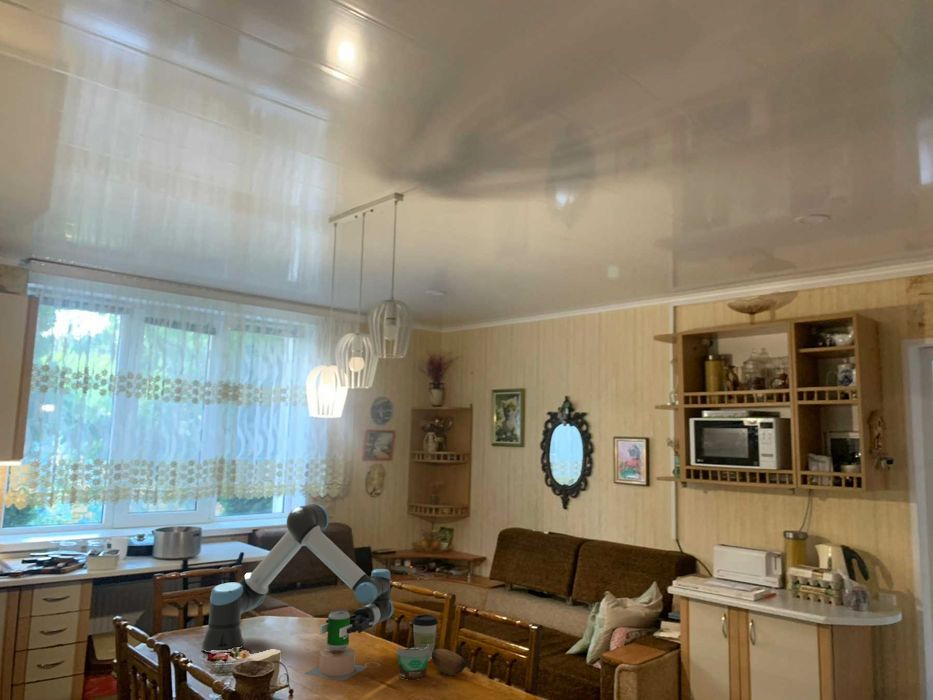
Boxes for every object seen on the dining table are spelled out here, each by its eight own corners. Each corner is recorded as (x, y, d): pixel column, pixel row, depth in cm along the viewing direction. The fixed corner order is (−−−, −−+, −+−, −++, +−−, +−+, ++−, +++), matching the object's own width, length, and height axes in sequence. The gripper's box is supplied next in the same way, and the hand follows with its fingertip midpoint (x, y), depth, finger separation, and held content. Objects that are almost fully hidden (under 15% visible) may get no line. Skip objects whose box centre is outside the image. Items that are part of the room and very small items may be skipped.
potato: (462, 684, 229) (458, 677, 223) (429, 669, 234) (424, 661, 228) (471, 663, 233) (467, 655, 227) (438, 648, 238) (433, 641, 233)
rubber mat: (303, 676, 224) (303, 673, 224) (330, 663, 238) (331, 660, 238) (342, 684, 217) (342, 680, 218) (368, 669, 232) (368, 666, 232)
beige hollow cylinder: (312, 672, 225) (313, 654, 226) (332, 662, 236) (333, 645, 237) (341, 678, 220) (342, 659, 221) (360, 667, 231) (361, 649, 232)
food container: (402, 683, 219) (403, 652, 220) (395, 678, 224) (396, 647, 226) (435, 678, 224) (436, 648, 226) (428, 673, 230) (428, 643, 231)
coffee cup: (433, 664, 240) (434, 621, 242) (407, 662, 241) (409, 619, 244) (439, 656, 249) (440, 615, 251) (415, 654, 251) (416, 613, 253)
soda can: (338, 652, 224) (340, 615, 226) (322, 648, 228) (324, 612, 230) (353, 646, 230) (354, 611, 232) (337, 643, 234) (339, 608, 236)
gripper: (389, 630, 242) (354, 647, 221) (343, 623, 250) (306, 638, 229) (389, 609, 243) (355, 623, 222) (344, 603, 251) (307, 616, 230)
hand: (330, 631), depth 226 cm, fingers closed on soda can, 7 cm apart
